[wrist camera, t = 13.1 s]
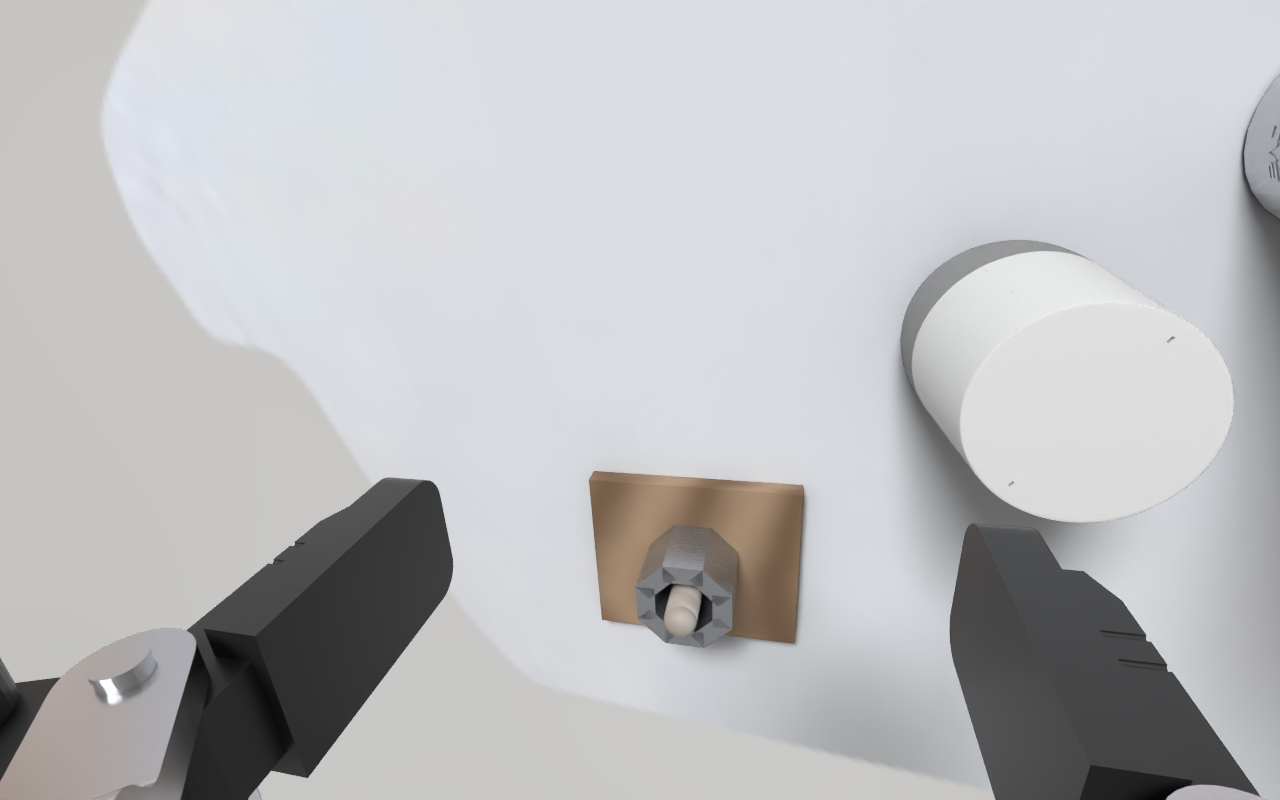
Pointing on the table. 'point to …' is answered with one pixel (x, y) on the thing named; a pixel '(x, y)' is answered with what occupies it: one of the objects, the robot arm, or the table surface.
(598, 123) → the table surface
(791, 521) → the post stand
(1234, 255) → the table surface
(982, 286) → the smart speaker
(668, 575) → the ring
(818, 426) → the table surface
